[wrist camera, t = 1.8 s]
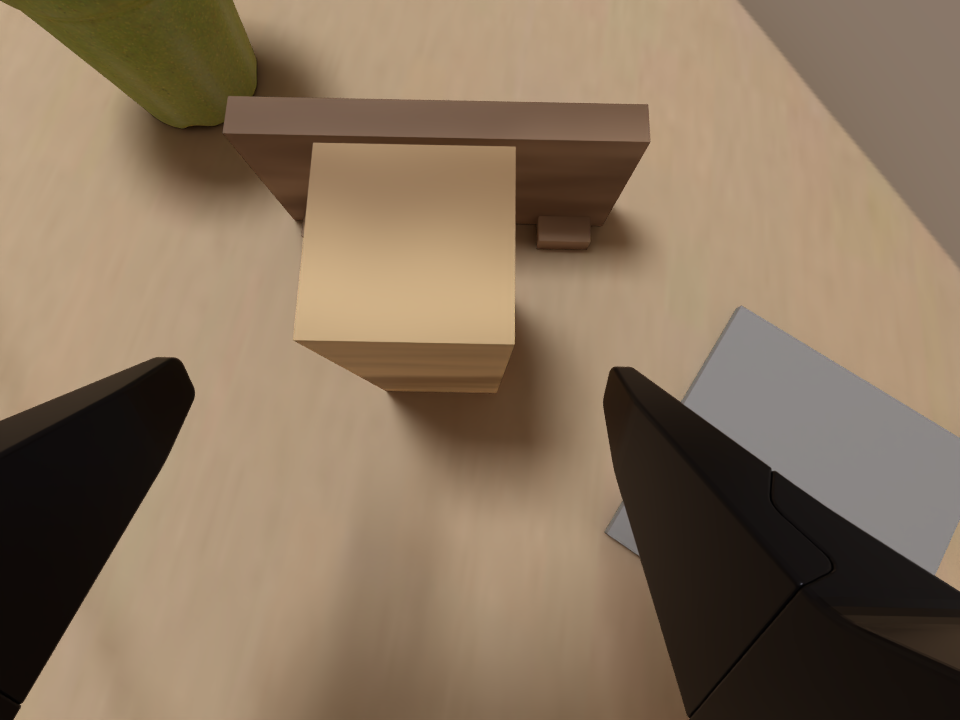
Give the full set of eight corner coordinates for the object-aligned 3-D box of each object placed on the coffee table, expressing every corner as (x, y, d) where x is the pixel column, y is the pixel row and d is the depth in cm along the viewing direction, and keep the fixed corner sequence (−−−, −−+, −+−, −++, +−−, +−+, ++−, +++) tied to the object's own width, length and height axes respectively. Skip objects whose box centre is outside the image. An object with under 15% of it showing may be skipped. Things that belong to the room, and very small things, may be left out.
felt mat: (862, 710, 17) (871, 716, 17) (604, 532, 18) (607, 534, 18) (977, 454, 19) (988, 455, 19) (736, 307, 20) (741, 305, 20)
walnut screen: (603, 249, 21) (652, 174, 15) (291, 243, 21) (218, 165, 15) (600, 174, 22) (646, 74, 16) (299, 168, 22) (232, 66, 16)
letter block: (496, 392, 20) (514, 344, 10) (386, 390, 20) (293, 340, 10) (497, 285, 21) (515, 141, 11) (392, 283, 21) (313, 138, 11)
